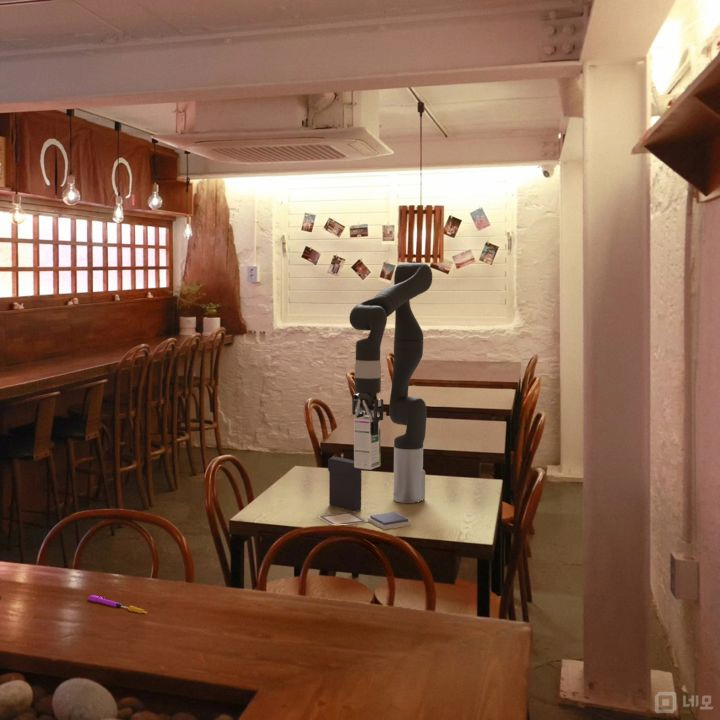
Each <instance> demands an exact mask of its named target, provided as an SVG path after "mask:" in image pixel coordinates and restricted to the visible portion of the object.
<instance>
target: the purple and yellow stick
mask: <svg viewBox="0 0 720 720" xmlns="http://www.w3.org/2000/svg"><path fill="white" fill-rule="evenodd" d="M102 597H103V596H100V597H99V596H98V595H96V594H93V595H89V596H88V598H87V599H88V601H89V602H95V603H97V604H98V603H99V604H103V605H105V606H106V605H107V606H111V607H114V608H124V609H128V612H134V613H138V614H145V615H146V614H148V611H145V609H143V608H140V607H136V606H133V605H129V606H123V605H122V603H119V602H117V601H113V600H109V599H106V598H104V599H103V598H102Z"/></svg>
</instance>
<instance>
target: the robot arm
mask: <svg viewBox="0 0 720 720" xmlns="http://www.w3.org/2000/svg"><path fill="white" fill-rule="evenodd" d="M393 279H394V280H393V285H390V286H388V287H386V288H384V289H383V290H381V291H380V292H378V293H377V294H376V295H375V296H374V297H373V298H370V299H366V300H365V301H363V302H360V303H358V304H356V305H355V306H354V307H353V308H352V309H351V311H350V313H349V318H348V319H349V323H350V326H351V327H352V328H354V329H355V330H358V331H370V332H369V334H368V337H366V338H361V339H358V340H357V341H356V343H355V361H354V363H355V364H354V388H353V389H354V392H355V393H354V394H352V397H351V403H352V404H351V406H352V407H351V414H352V415H353V416H354V417H355V418H359V417H363V416H369V417H370V421H371V422H370V434H371V435H378V422H379V421H380V422H381V421H383V420H384V399H383V398H379V399H378V396H377V395H378V394H379V393H381V392H382V391H381V390H382V386H381V385H382V379H381V378H382V366H381V345H382V341H383V337H384V332H385V330H386V326H387V322H388V317H389V316H390V315H392V314H393V313H395V314H394V315H395V317H394V318H395V320H394V321H395V322H394V340H393V368H392V369H393V370H392V371H393V372H392V382H391V391H390V395H389V396H390V397H389V408H388V413H389V417H390V420H391V421H392V423H394V424H396V425H402V426H406V429H405V433H404V434H401V435H398V436H395V437H394V440H393V442H394V444H393V493H392V495H393V501H394V502H397V503H401V504H416V503H415V502H417V503H419V502H418V501H421V500H422V499H425V500H426V471H425V469H423V467H424V441H425V438H426V431H427V430H426V429H427V419H428V418H427V412H428V411H427V410H428V409H427V405H426V402H425V401H424V400H423V398H421V397H416V396H409V385H410V380H411V378H412V376H413V374H414V373H415V370H416V369H417V367H418V365H419V363H420V362H421V360H422V358H423V355H424V333H423V330H422V328H421V326H420V324H419V322H418V320H417V318H416V316H415V315H414V313H413V310H412V307H411V302H410V300H412V299H414V298H416V297H418V296H419V295H422V294H424V293H425V292H427V291H428V290H429V289H430V288H431V287H432V282H433V272H432V268H431V267H430V266H429V265H428V264H426V263H424V262H423V263H422V262H402V263H398V265H397V266H396V268H395V271H394V277H393ZM373 416H374V417H373ZM422 501H423V500H422ZM422 501H421V502H422Z"/></svg>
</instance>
